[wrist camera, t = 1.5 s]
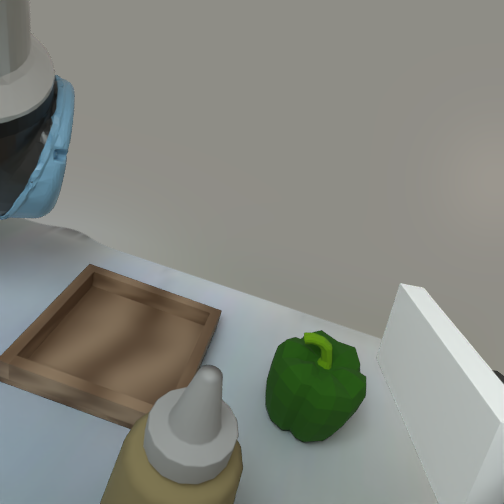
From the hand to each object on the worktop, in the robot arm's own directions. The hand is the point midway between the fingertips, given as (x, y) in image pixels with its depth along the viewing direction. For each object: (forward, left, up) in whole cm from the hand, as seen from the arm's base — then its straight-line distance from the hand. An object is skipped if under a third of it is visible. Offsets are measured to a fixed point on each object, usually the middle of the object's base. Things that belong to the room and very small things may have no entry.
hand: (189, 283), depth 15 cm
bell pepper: (-1, +22, -26) cm, 33 cm away
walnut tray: (-17, +13, -25) cm, 33 cm away
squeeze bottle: (-1, +4, -26) cm, 26 cm away
